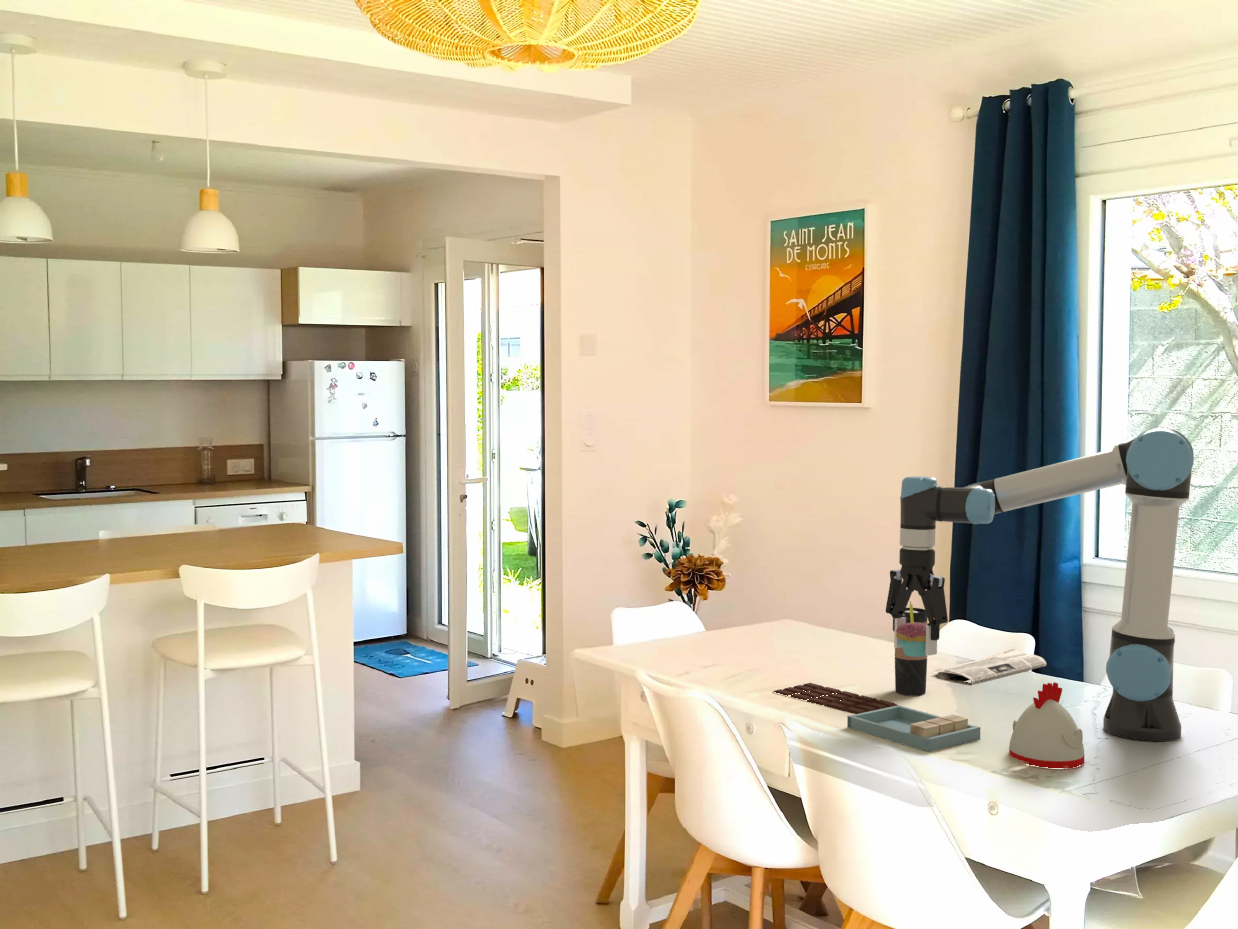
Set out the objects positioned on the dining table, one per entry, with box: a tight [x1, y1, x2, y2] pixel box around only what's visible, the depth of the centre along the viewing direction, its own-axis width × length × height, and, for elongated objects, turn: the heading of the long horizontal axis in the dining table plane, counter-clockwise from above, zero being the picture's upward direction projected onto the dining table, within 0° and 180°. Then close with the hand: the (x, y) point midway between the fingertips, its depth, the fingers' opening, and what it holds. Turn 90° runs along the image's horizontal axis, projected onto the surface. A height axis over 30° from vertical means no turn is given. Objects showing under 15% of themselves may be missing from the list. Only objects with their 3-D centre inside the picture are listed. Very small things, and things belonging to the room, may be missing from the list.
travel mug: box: [894, 607, 928, 697], centre depth 287 cm, size 8×8×20 cm
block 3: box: [940, 714, 969, 732], centre depth 246 cm, size 4×4×4 cm
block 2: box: [925, 718, 954, 735], centre depth 243 cm, size 4×4×4 cm
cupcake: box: [896, 600, 928, 657], centre depth 259 cm, size 9×8×12 cm
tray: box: [846, 704, 981, 753], centre depth 249 cm, size 22×16×3 cm
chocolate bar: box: [772, 682, 898, 715], centre depth 281 cm, size 27×14×1 cm, turn 39°
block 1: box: [910, 721, 939, 738], centre depth 241 cm, size 4×4×4 cm
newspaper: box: [933, 647, 1047, 685], centre depth 311 cm, size 35×12×4 cm, turn 129°
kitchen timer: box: [1008, 682, 1086, 769], centre depth 233 cm, size 14×14×15 cm
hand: (915, 650), depth 259 cm, fingers closed on cupcake, 8 cm apart
